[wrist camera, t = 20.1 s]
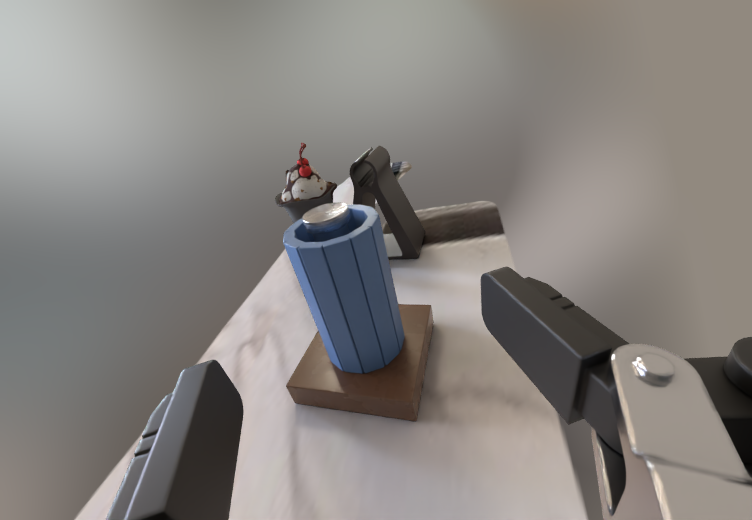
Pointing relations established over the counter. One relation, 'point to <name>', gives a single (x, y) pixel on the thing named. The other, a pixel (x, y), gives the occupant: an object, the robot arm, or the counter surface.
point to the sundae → (304, 189)
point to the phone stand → (387, 203)
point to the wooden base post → (376, 388)
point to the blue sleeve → (350, 291)
